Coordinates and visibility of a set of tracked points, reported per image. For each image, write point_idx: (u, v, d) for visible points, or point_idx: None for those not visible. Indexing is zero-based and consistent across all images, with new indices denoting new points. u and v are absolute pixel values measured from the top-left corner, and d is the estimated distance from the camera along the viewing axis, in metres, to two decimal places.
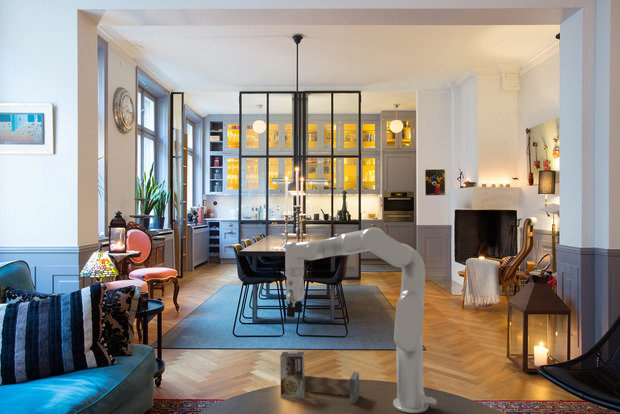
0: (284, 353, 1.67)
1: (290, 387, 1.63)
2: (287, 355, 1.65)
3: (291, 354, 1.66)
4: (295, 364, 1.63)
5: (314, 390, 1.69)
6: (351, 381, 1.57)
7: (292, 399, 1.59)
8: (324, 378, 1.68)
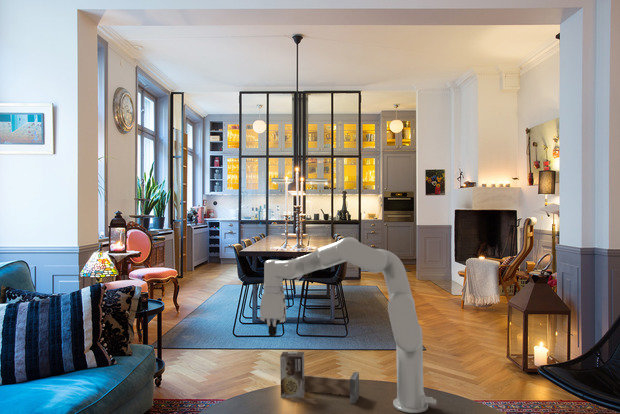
0: (284, 353, 1.67)
1: (290, 387, 1.63)
2: (287, 355, 1.65)
3: (291, 354, 1.66)
4: (295, 364, 1.63)
5: (314, 390, 1.69)
6: (351, 381, 1.57)
7: (292, 399, 1.59)
8: (324, 378, 1.68)
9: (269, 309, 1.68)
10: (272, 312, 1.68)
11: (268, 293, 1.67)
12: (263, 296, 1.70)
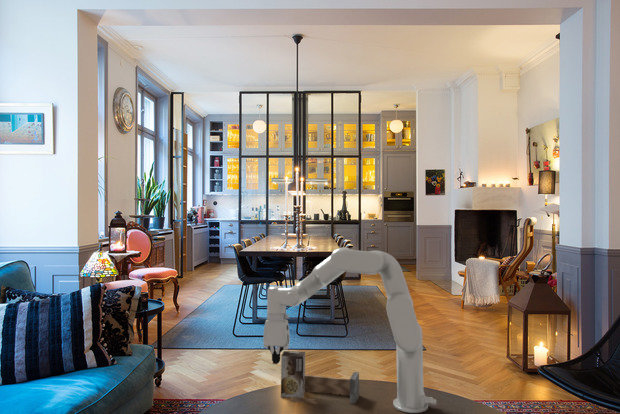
0: (285, 352, 1.67)
1: (290, 387, 1.63)
2: (288, 354, 1.65)
3: (292, 354, 1.66)
4: (296, 364, 1.63)
5: (314, 390, 1.69)
6: (351, 381, 1.57)
7: (292, 399, 1.59)
8: (324, 378, 1.68)
9: (272, 336, 1.67)
10: (275, 340, 1.67)
11: (271, 320, 1.66)
12: (266, 323, 1.68)
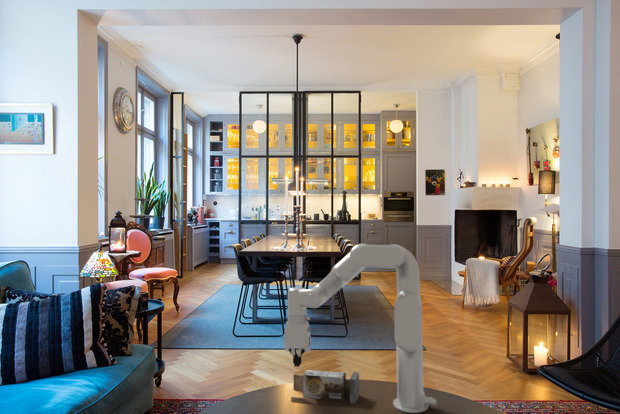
0: (345, 377, 1.63)
1: (312, 386, 1.62)
2: (344, 383, 1.61)
3: (344, 386, 1.61)
4: (335, 393, 1.60)
5: None
6: (351, 381, 1.57)
7: (292, 399, 1.59)
8: None
9: (294, 339, 1.64)
10: (297, 342, 1.64)
11: (292, 322, 1.64)
12: (287, 325, 1.66)
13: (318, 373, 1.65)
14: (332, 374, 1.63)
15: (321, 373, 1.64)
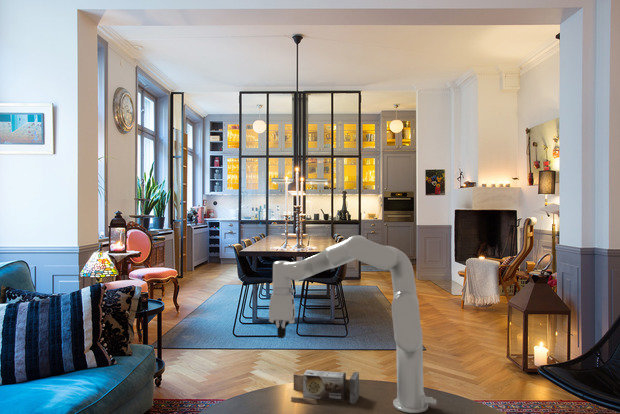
0: (345, 377, 1.63)
1: (312, 386, 1.62)
2: (344, 383, 1.61)
3: (344, 386, 1.61)
4: (335, 393, 1.60)
5: None
6: (351, 381, 1.57)
7: (292, 399, 1.59)
8: None
9: (278, 311, 1.67)
10: (281, 314, 1.67)
11: (277, 294, 1.66)
12: (272, 297, 1.68)
13: (318, 373, 1.65)
14: (332, 374, 1.63)
15: (321, 373, 1.64)
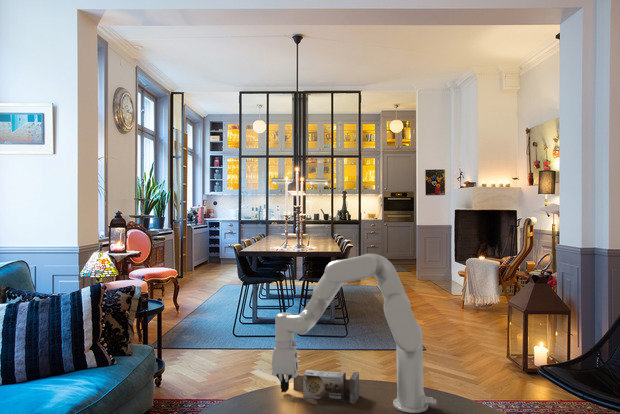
0: (345, 377, 1.63)
1: (312, 386, 1.62)
2: (344, 383, 1.61)
3: (344, 386, 1.61)
4: (335, 393, 1.60)
5: None
6: (351, 381, 1.57)
7: (292, 399, 1.59)
8: None
9: (281, 364, 1.65)
10: (284, 368, 1.65)
11: (280, 348, 1.65)
12: (275, 351, 1.67)
13: (318, 373, 1.65)
14: (332, 374, 1.63)
15: (321, 373, 1.64)
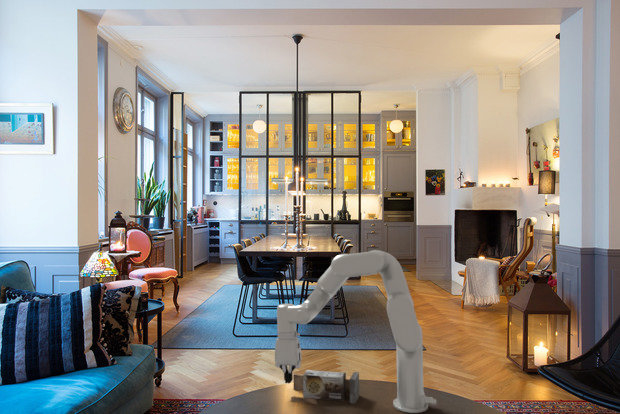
0: (345, 377, 1.63)
1: (312, 386, 1.62)
2: (344, 383, 1.61)
3: (344, 386, 1.61)
4: (335, 393, 1.60)
5: None
6: (351, 381, 1.57)
7: (292, 399, 1.59)
8: None
9: (284, 355, 1.65)
10: (287, 358, 1.65)
11: (282, 339, 1.64)
12: (277, 342, 1.67)
13: (318, 373, 1.65)
14: (332, 374, 1.63)
15: (321, 373, 1.64)
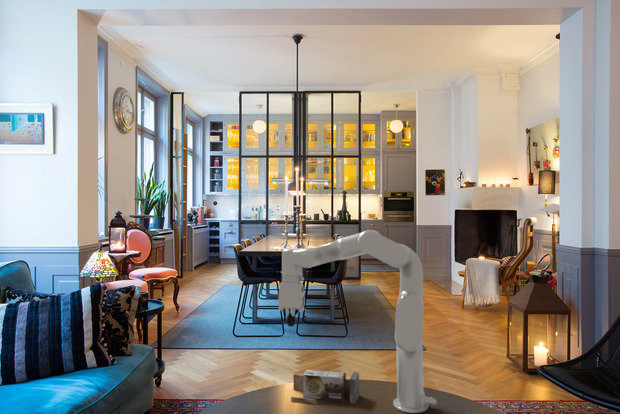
0: (345, 377, 1.63)
1: (312, 386, 1.62)
2: (344, 383, 1.61)
3: (344, 386, 1.61)
4: (335, 393, 1.60)
5: None
6: (351, 381, 1.57)
7: (292, 399, 1.59)
8: None
9: (288, 299, 1.66)
10: (291, 301, 1.66)
11: (286, 282, 1.65)
12: (281, 286, 1.68)
13: (318, 373, 1.65)
14: (332, 374, 1.63)
15: (321, 373, 1.64)
